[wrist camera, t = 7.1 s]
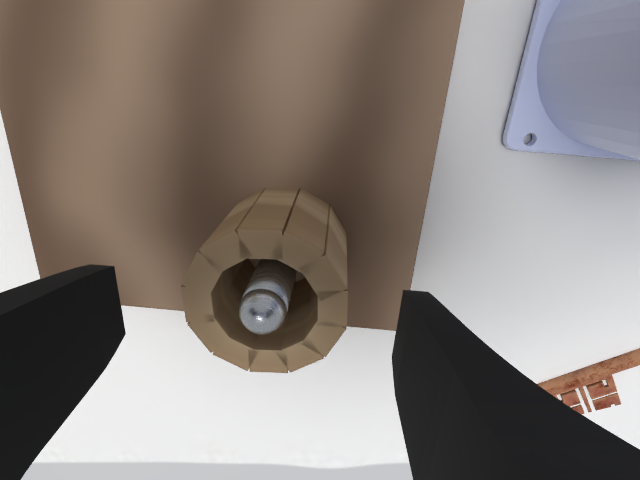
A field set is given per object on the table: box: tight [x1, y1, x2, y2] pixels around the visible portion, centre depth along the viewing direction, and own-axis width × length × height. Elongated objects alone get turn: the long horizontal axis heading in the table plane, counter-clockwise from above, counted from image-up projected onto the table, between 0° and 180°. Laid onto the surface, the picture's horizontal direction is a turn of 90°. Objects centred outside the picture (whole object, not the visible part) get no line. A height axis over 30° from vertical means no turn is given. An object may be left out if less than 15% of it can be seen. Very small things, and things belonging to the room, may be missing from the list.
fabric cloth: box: [0, 0, 465, 331], centre depth 16 cm, size 18×18×2 cm
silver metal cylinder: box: [239, 259, 297, 334], centre depth 15 cm, size 2×2×6 cm
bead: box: [181, 187, 348, 373], centre depth 15 cm, size 6×6×5 cm
